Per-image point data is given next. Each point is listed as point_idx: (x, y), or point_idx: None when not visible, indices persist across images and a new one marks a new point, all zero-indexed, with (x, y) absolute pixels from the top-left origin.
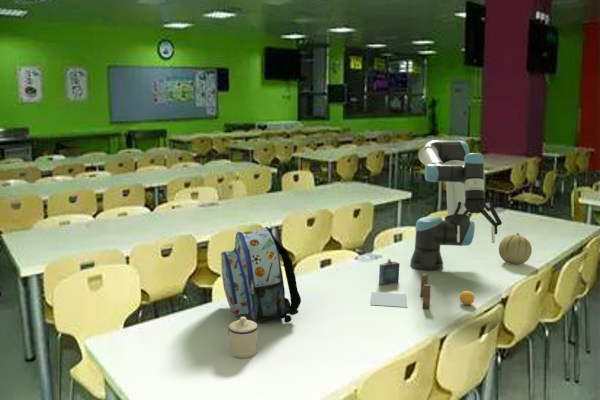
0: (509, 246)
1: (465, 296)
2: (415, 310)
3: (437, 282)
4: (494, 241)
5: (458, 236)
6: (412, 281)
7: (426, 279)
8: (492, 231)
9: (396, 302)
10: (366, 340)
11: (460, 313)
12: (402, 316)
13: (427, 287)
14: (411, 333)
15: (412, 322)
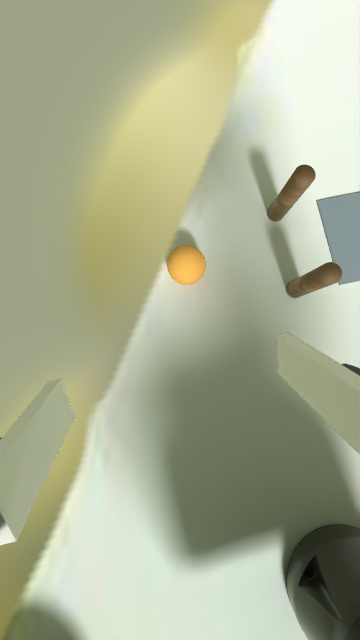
0: None
1: (190, 246)
2: None
3: (278, 417)
4: (49, 382)
5: (303, 345)
6: None
7: (316, 268)
8: (25, 442)
9: (348, 219)
10: (351, 15)
11: (195, 209)
12: (315, 147)
13: (300, 167)
14: (278, 72)
15: (287, 123)
